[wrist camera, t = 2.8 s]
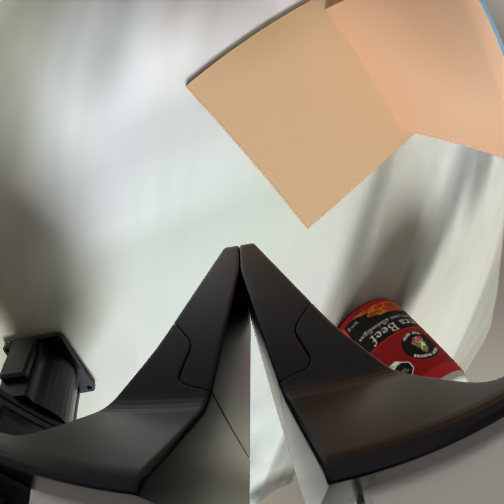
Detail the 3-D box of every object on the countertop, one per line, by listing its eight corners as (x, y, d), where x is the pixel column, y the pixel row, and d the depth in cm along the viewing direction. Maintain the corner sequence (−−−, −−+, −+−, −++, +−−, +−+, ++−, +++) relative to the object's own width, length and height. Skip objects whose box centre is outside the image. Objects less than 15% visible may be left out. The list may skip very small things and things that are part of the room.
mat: (305, 226, 21) (307, 228, 21) (185, 86, 16) (185, 85, 15) (418, 125, 20) (421, 126, 20) (333, -12, 14) (336, -14, 14)
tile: (400, 129, 20) (516, 162, 11) (324, 9, 15) (439, -34, 6) (416, 115, 19) (530, 142, 11) (345, -2, 14) (459, -41, 6)
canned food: (406, 290, 27) (483, 363, 18) (385, 352, 31) (441, 424, 21) (339, 302, 25) (415, 397, 16) (323, 369, 29) (375, 457, 19)
